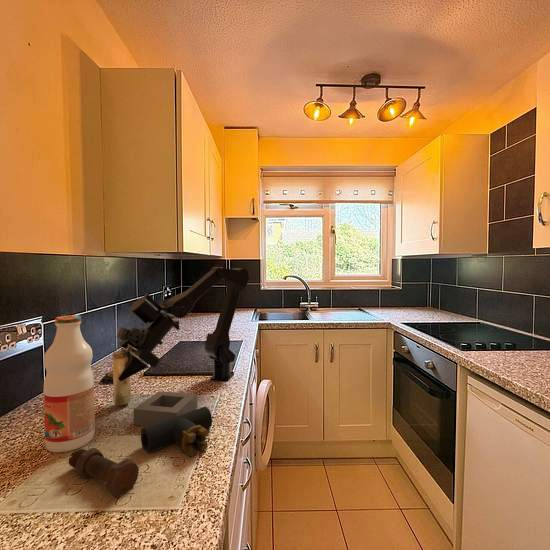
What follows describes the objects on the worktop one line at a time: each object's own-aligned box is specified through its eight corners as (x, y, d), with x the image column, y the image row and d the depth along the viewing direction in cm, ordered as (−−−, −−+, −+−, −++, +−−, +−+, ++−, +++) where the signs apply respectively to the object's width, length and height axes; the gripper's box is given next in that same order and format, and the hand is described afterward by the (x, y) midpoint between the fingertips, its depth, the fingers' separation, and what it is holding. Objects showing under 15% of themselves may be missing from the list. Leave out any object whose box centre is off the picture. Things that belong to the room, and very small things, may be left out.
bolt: (80, 474, 63) (130, 497, 56) (56, 474, 59) (106, 499, 52) (94, 441, 66) (143, 460, 59) (71, 439, 62) (121, 459, 55)
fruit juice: (94, 446, 69) (92, 318, 69) (41, 458, 65) (38, 321, 64) (95, 427, 78) (93, 312, 77) (48, 437, 73) (45, 315, 73)
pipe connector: (228, 418, 72) (164, 444, 61) (228, 441, 72) (164, 471, 61) (200, 403, 80) (140, 424, 70) (201, 424, 80) (140, 448, 70)
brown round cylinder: (120, 397, 93) (119, 350, 92) (134, 399, 92) (133, 350, 92) (110, 404, 89) (109, 354, 88) (124, 405, 88) (123, 355, 87)
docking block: (159, 405, 90) (158, 391, 90) (197, 408, 88) (196, 394, 88) (134, 424, 79) (133, 408, 79) (176, 429, 77) (176, 412, 77)
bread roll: (103, 377, 114) (103, 367, 114) (129, 374, 117) (129, 364, 117) (99, 387, 105) (99, 376, 104) (127, 384, 108) (127, 373, 107)
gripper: (125, 312, 99) (85, 354, 92) (147, 320, 85) (102, 370, 78) (151, 334, 105) (115, 375, 98) (175, 344, 91) (136, 393, 84)
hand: (116, 377), depth 89 cm, fingers closed on brown round cylinder, 4 cm apart
